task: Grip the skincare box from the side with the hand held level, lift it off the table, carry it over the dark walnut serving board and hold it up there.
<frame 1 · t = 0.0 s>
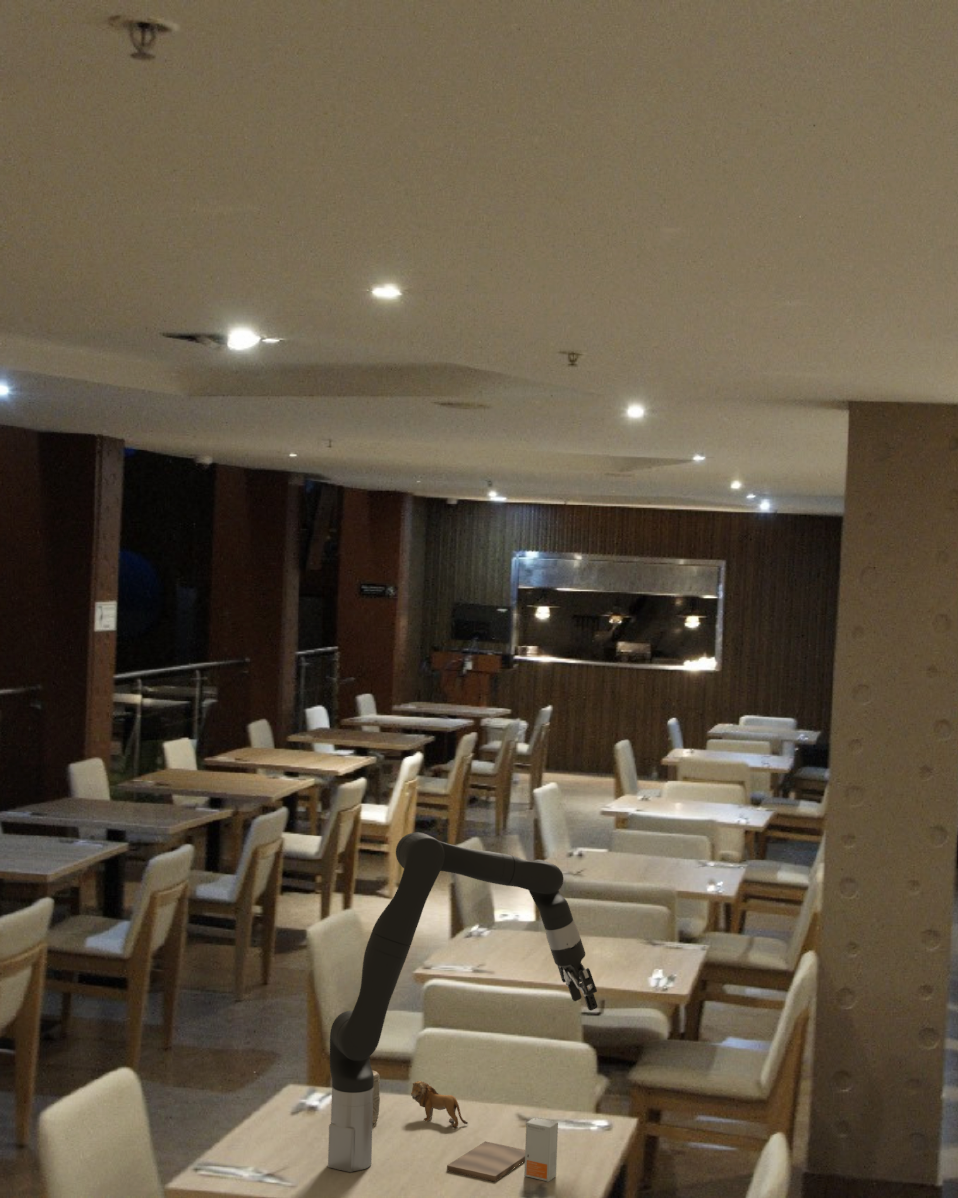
hand: (585, 1004, 369), 31 cm above the table, tool tilted 20°, fingers open, 8 cm apart
walnut board: (490, 1163, 350), on the table
skincare box: (540, 1177, 343), on the table
lion figurine: (436, 1122, 377), on the table
carving: (364, 1123, 375), on the table
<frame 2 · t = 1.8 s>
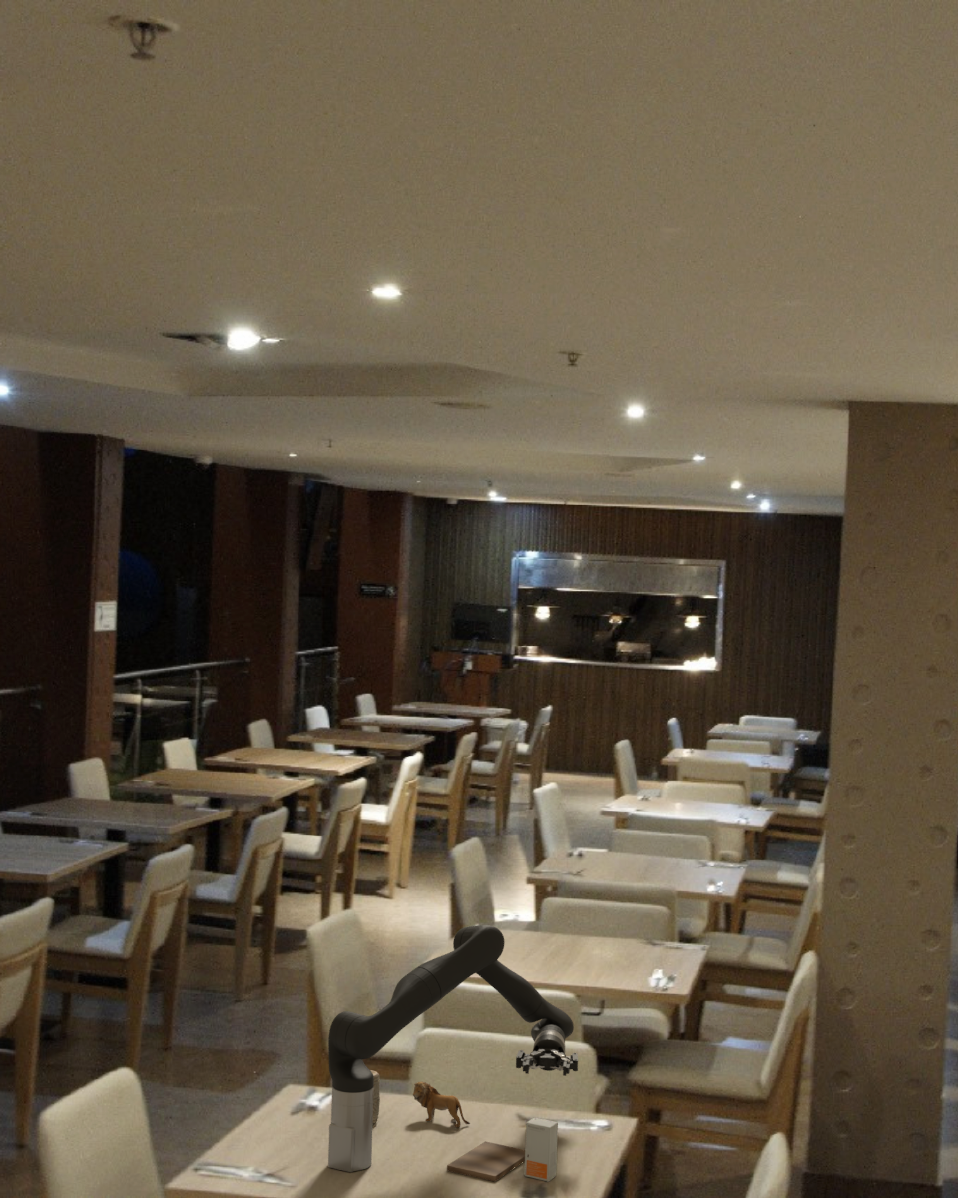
hand: (545, 1070, 354), 20 cm above the table, tool horizontal, fingers open, 8 cm apart
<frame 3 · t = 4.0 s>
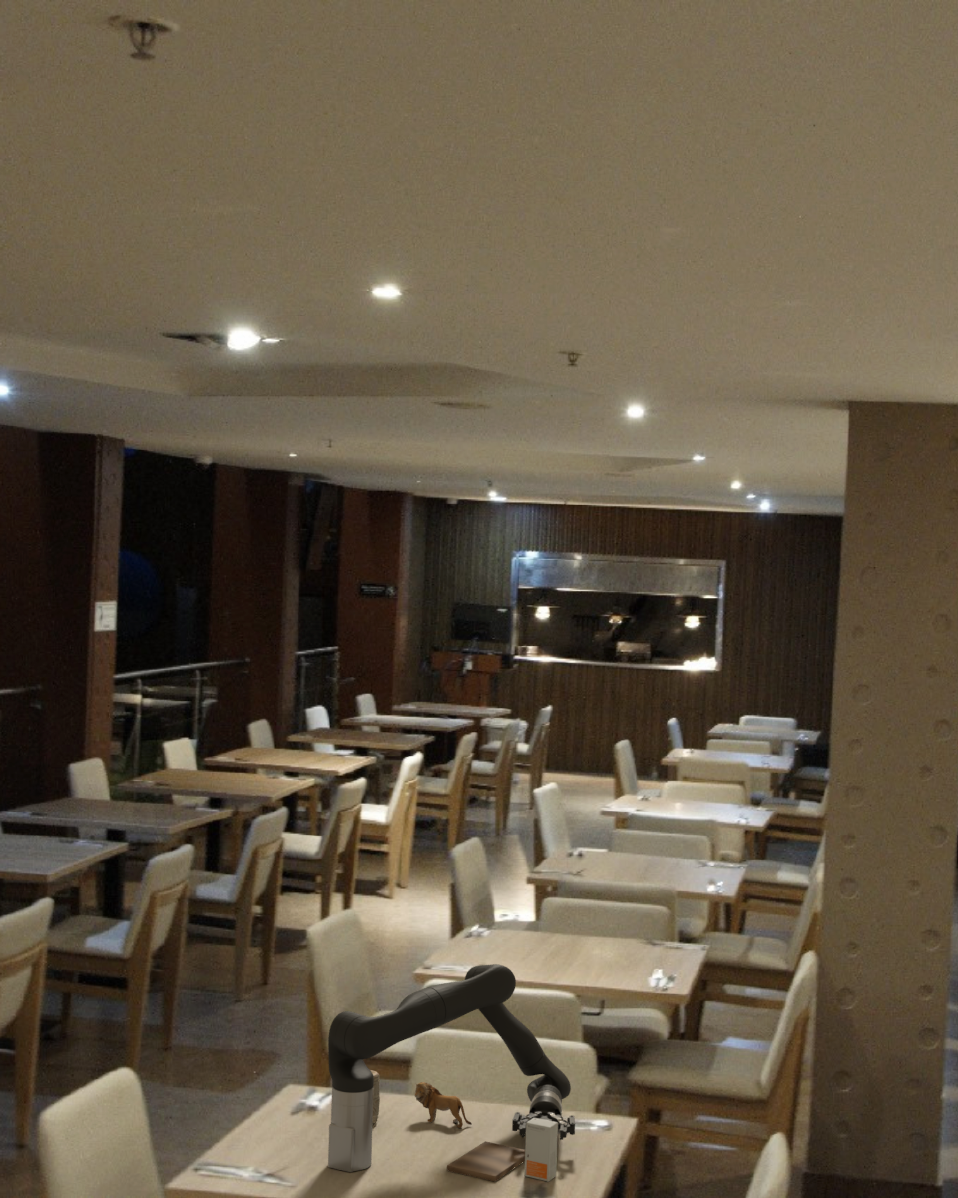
hand: (542, 1134, 350), 7 cm above the table, tool horizontal, fingers open, 8 cm apart
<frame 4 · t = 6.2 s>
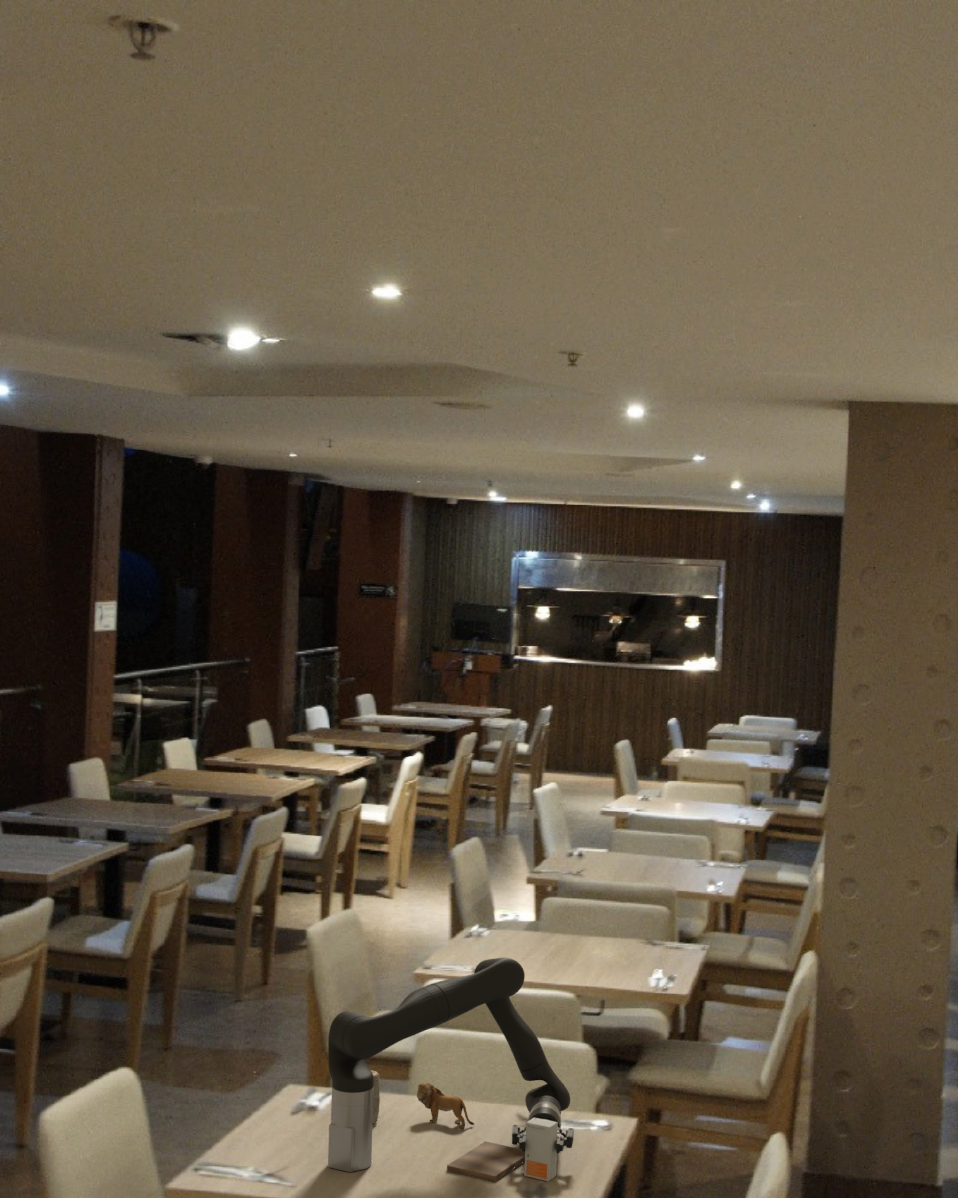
hand: (540, 1148, 341), 7 cm above the table, tool horizontal, fingers closed on skincare box, 7 cm apart
skincare box: (540, 1177, 343), on the table, touching gripper
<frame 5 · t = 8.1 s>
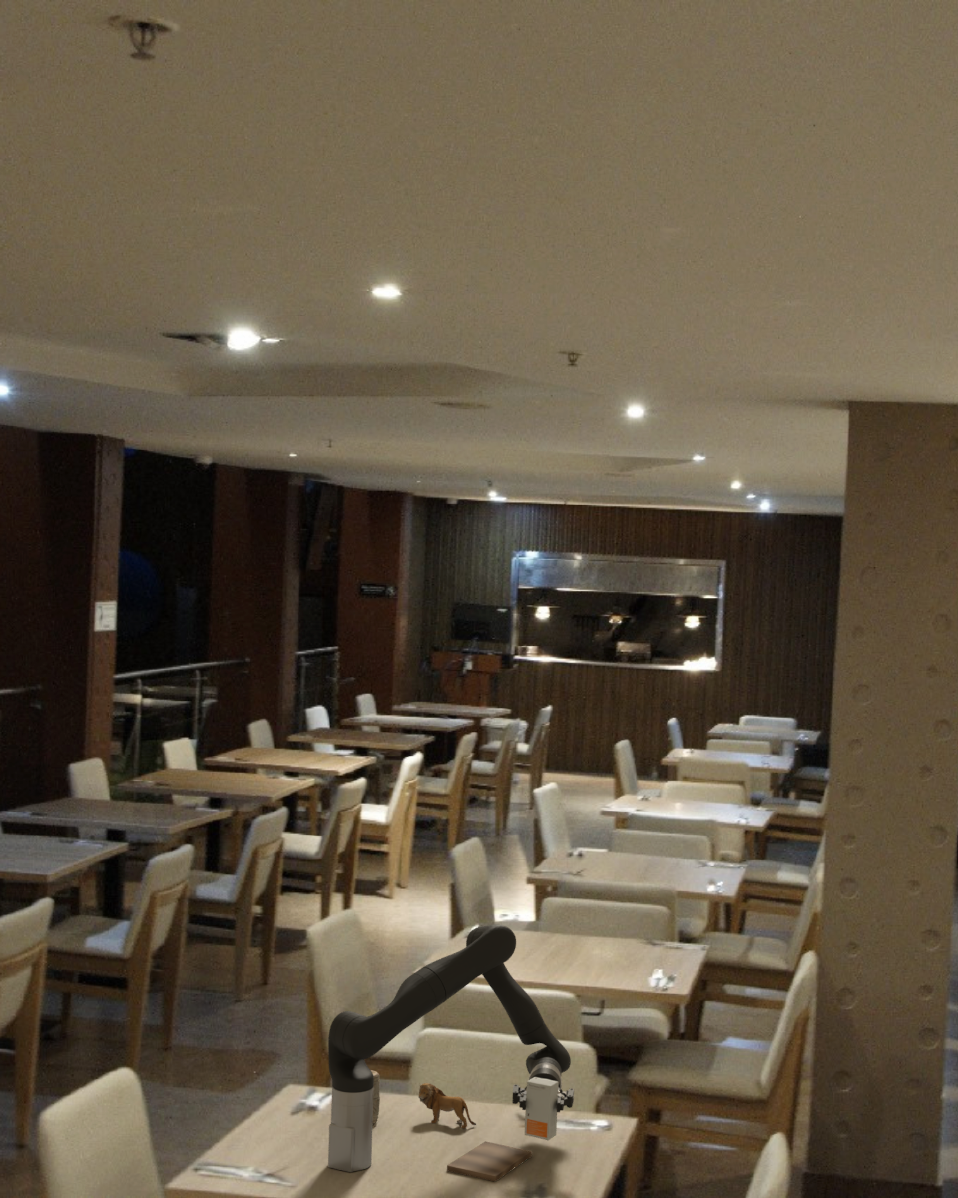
hand: (541, 1106, 341), 16 cm above the table, tool horizontal, fingers closed on skincare box, 7 cm apart
skincare box: (540, 1136, 343), point 9 cm above the table, touching gripper
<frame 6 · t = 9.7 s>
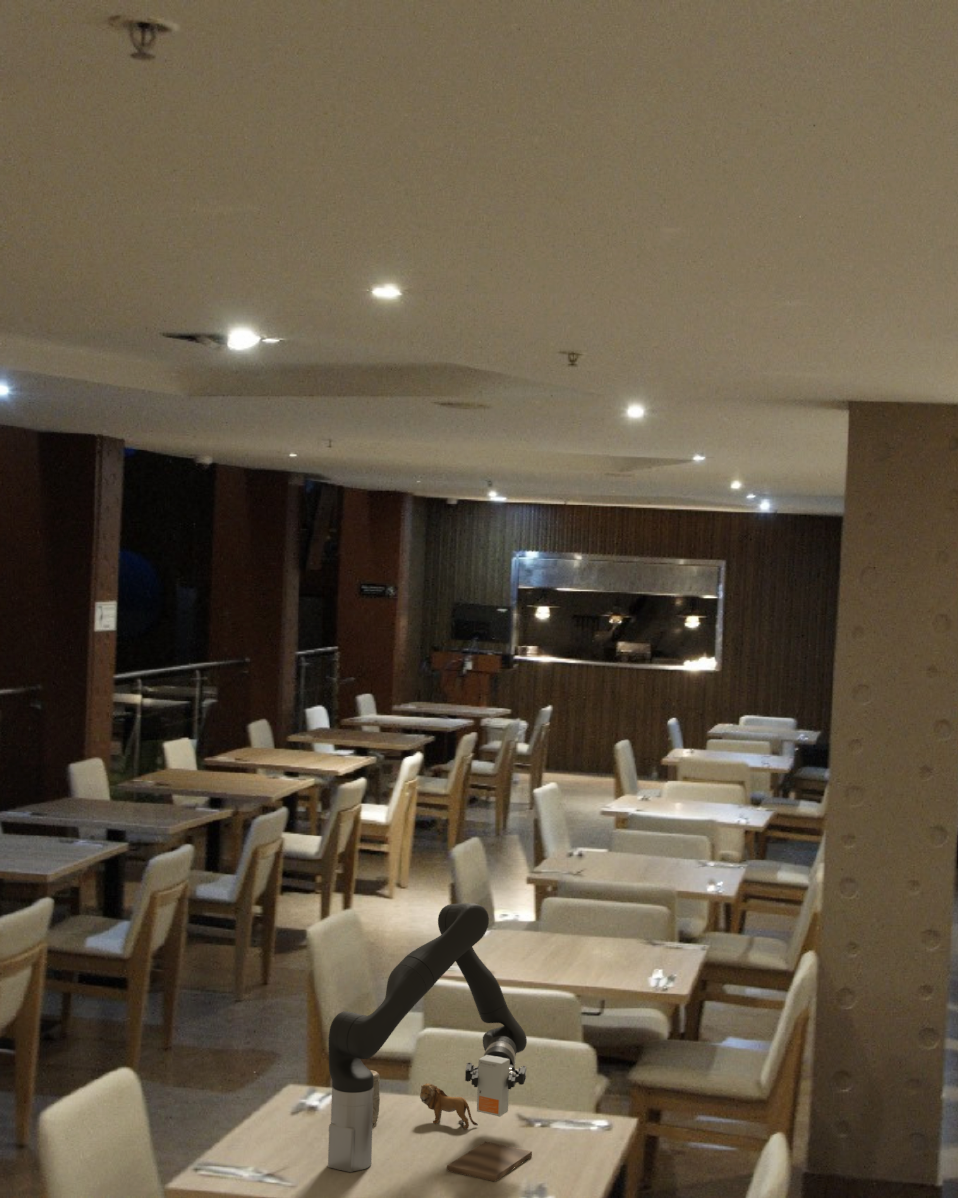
hand: (492, 1084, 348), 19 cm above the table, tool horizontal, fingers closed on skincare box, 7 cm apart
skincare box: (492, 1113, 350), point 11 cm above the table, touching gripper
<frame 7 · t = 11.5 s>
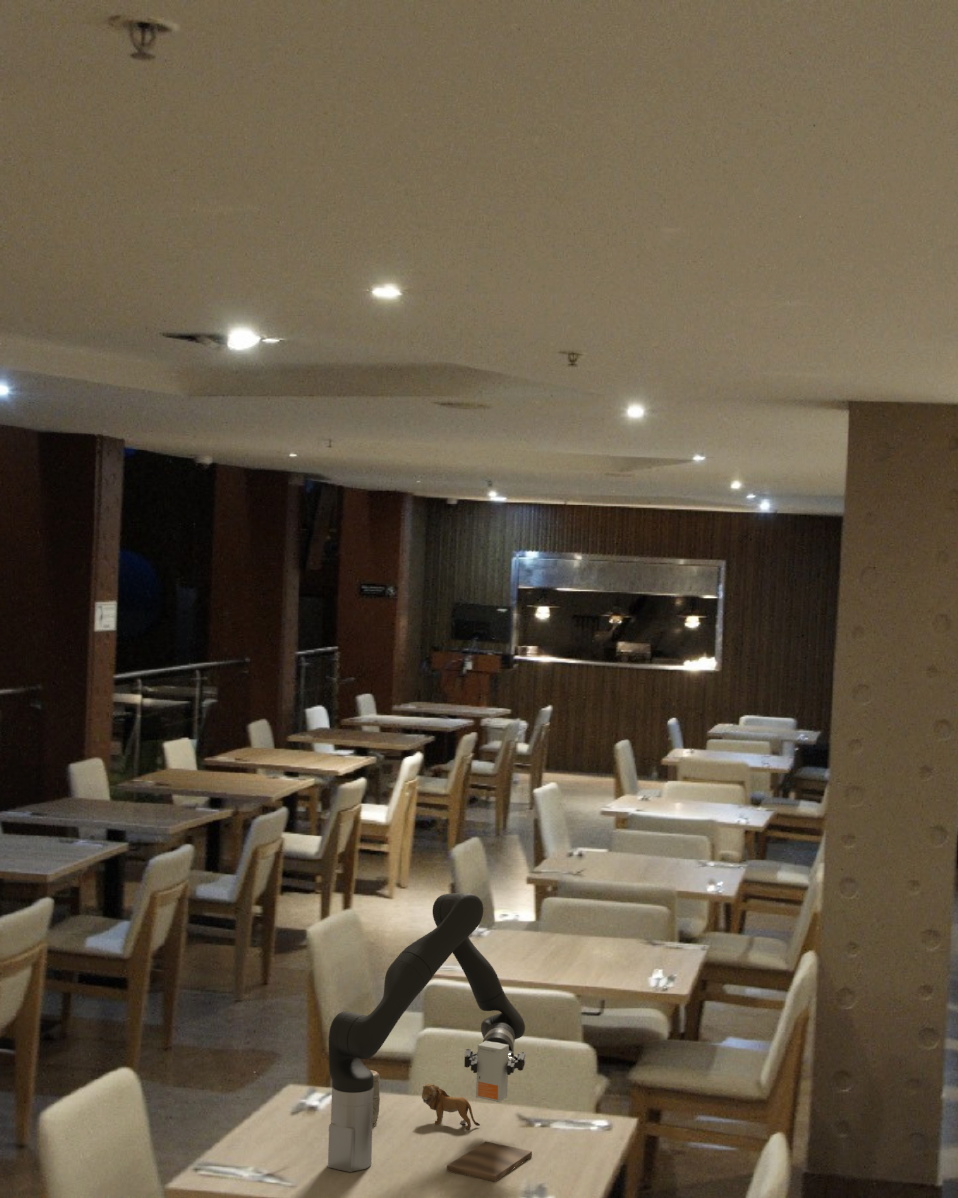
hand: (492, 1069, 348), 22 cm above the table, tool horizontal, fingers closed on skincare box, 7 cm apart
skincare box: (491, 1099, 350), point 14 cm above the table, touching gripper
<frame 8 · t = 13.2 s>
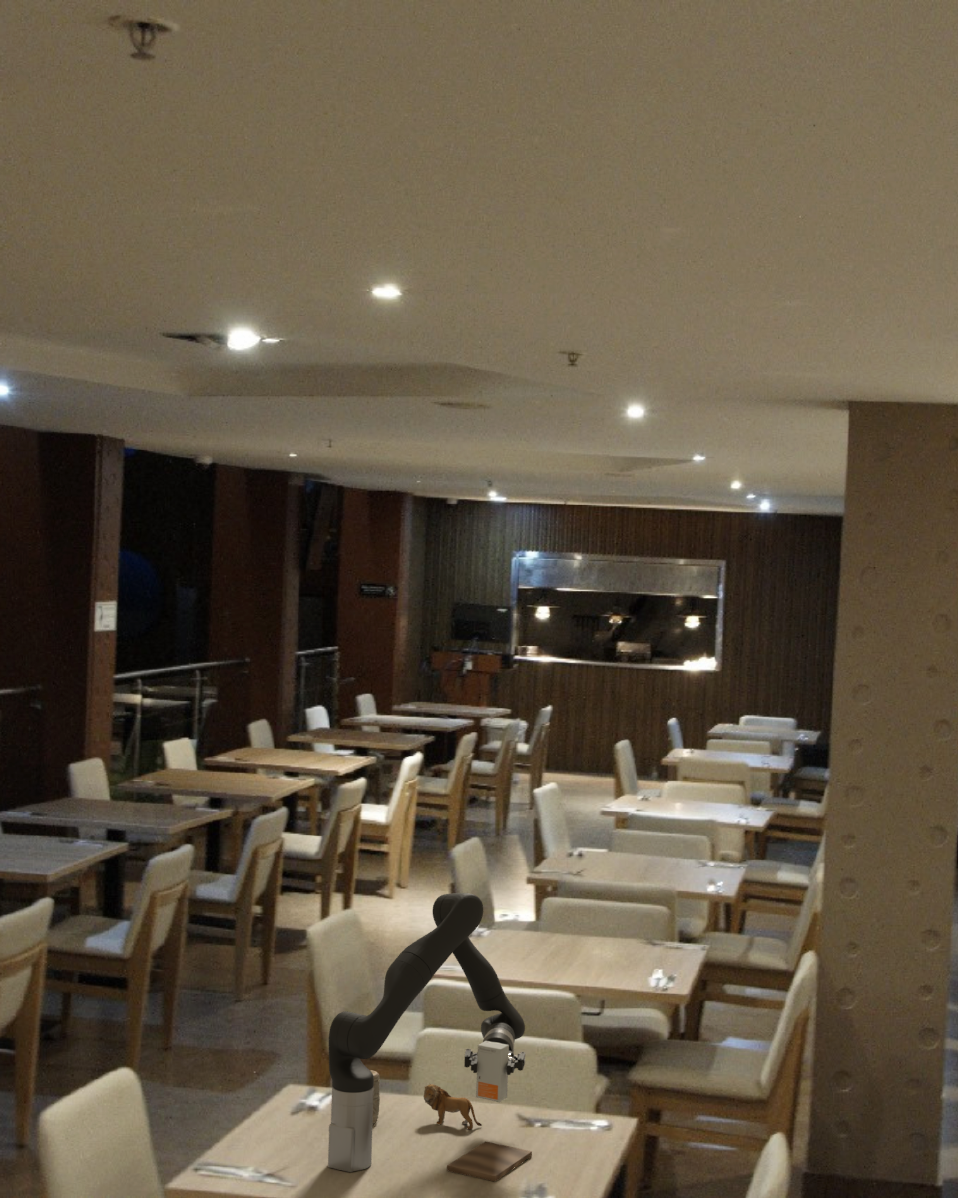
hand: (492, 1069, 348), 22 cm above the table, tool horizontal, fingers closed on skincare box, 7 cm apart
skincare box: (491, 1099, 350), point 14 cm above the table, touching gripper
at the end: the gripper is holding skincare box; skincare box inside the target area (0.1 cm from its centre), point 14.4 cm above the table; skincare box tilted 1° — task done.
